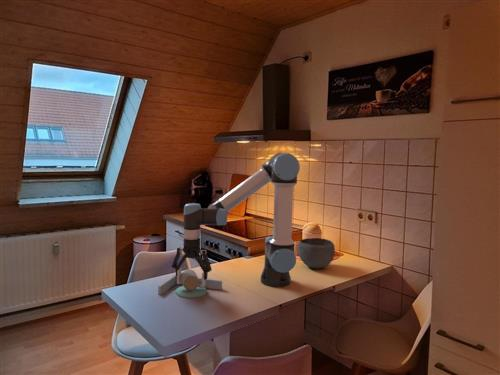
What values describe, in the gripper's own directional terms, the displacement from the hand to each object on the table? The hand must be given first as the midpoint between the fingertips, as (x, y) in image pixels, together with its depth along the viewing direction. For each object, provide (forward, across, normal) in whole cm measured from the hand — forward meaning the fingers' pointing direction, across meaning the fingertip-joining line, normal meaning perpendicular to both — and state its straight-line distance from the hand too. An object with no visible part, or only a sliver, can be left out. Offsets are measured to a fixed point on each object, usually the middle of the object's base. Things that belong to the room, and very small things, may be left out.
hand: (191, 284), depth 173 cm
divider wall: (+4, 0, -8) cm, 9 cm away
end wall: (+4, +12, 0) cm, 13 cm away
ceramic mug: (+2, 0, 0) cm, 2 cm away
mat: (+4, 0, 0) cm, 4 cm away
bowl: (+4, -51, -59) cm, 78 cm away
